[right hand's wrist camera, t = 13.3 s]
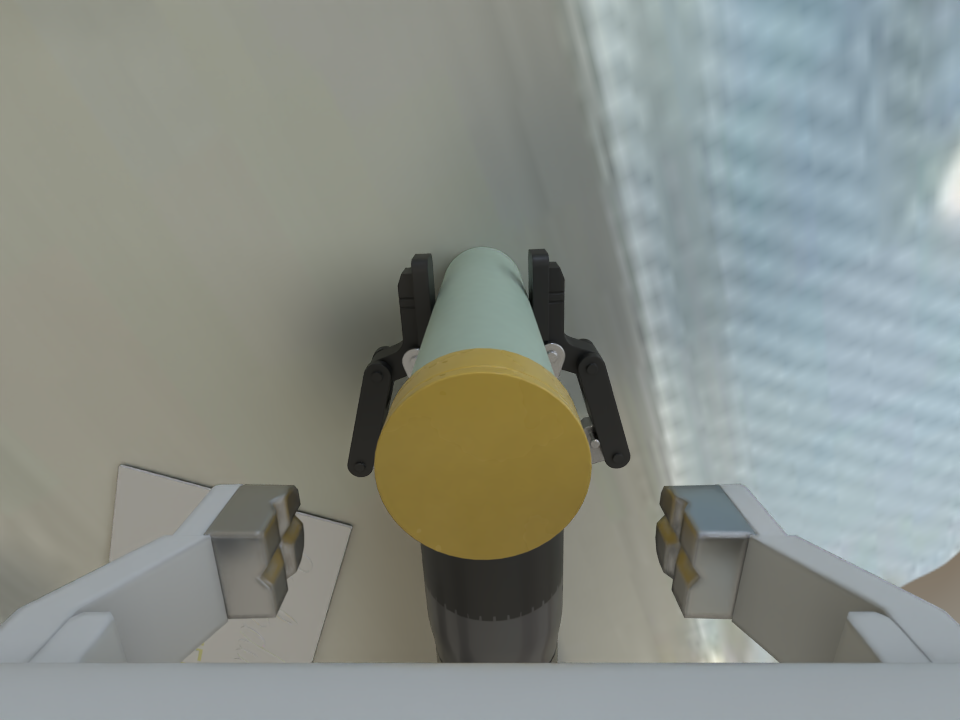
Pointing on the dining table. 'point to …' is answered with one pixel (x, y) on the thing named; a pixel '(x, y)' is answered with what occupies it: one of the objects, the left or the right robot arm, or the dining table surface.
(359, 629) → the dining table surface
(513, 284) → the mint green bottle
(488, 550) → the lid
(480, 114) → the dining table surface
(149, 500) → the invitation card
